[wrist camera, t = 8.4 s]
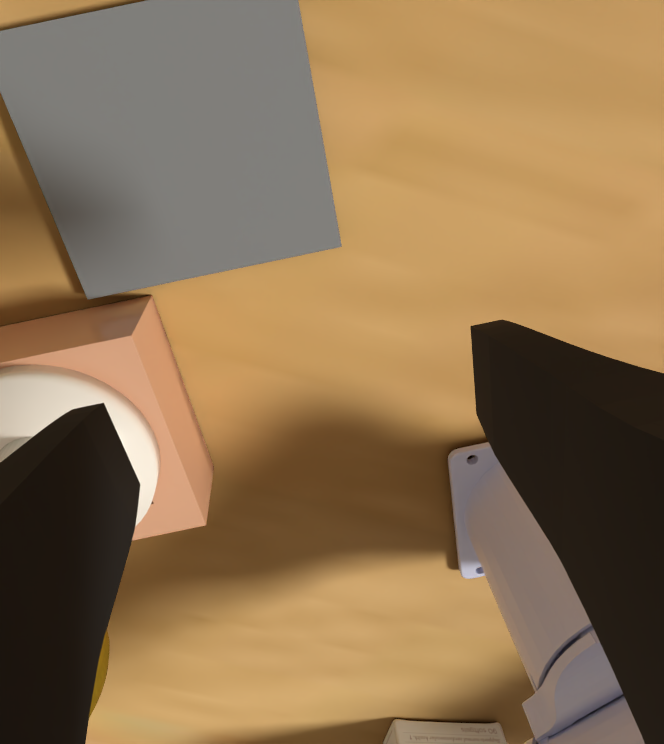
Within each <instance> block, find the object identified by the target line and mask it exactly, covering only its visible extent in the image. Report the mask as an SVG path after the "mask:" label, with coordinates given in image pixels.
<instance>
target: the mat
mask: <svg viewBox="0 0 664 744" xmlns="http://www.w3.org/2000/svg"><path fill="white" fill-rule="evenodd" d="M0 93H1V95H2V97H3V100H4V102H5V105H6V107H7V109H8V112H9V114H10V116H11V119H12V121H13V124H14V126H15V128H16V131H17V133H18V135H19V138H20V140H21V142H22V145H23V147H24V150H25V152H26V154H27V157H28V159H29V161H30V164H31V166H32V169H33V171H34V173H35V176H36V178H37V180H38V183H39V185H40V188H41V190H42V192H43V195H44V197H45V199H46V202H47V204H48V207H49V209H50V211H51V214H52V216H53V218H54V221H55V223H56V226H57V228H58V230H59V233H60V235H61V237H62V240H63V242H64V245H65V247H66V249H67V252H68V254H69V256H70V259H71V261H72V264H73V266H74V268H75V271H76V273H77V275H78V278H79V280H80V283H81V285H82V287H83V290H84V292H85V294H86V297H87V299H93V298H98V297H103V296H108V295H112V294H117V293H122V292H127V291H132V290H136V289H141V288H146V287H151V286H156V285H160V284H165V283H170V282H175V281H180V280H184V279H189V278H194V277H199V276H204V275H208V274H213V273H218V272H223V271H228V270H232V269H237V268H242V267H247V266H252V265H256V264H261V263H266V262H271V261H276V260H280V259H285V258H290V257H295V256H300V255H304V254H309V253H314V252H319V251H324V250H328V249H333V248H338V247H342V246H341V240H340V234H339V229H338V223H337V217H336V212H335V206H334V200H333V195H332V189H331V183H330V178H329V172H328V166H327V161H326V155H325V149H324V144H323V138H322V132H321V127H320V121H319V115H318V110H317V104H316V98H315V93H314V87H313V81H312V76H311V70H310V65H309V59H308V53H307V48H306V42H305V36H304V31H303V25H302V19H301V14H300V8H299V2H298V0H147V1H142V2H137V3H132V4H127V5H123V6H118V7H113V8H108V9H103V10H99V11H94V12H89V13H84V14H79V15H75V16H70V17H65V18H60V19H55V20H51V21H46V22H41V23H36V24H31V25H27V26H22V27H17V28H12V29H7V30H3V31H0Z"/></svg>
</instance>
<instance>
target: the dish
mask: <svg viewBox="0 0 664 744" xmlns="http://www.w3.org/2000/svg"><path fill="white" fill-rule="evenodd" d="M30 364H34V365H50V366H57V367H63V368H67V369H71V370H75V371H79V372H81V373H84V374H87V375H90V376H92V377H94V378H96V379H98V380H100V381H103V382H105V383H107V384H108V385H110V386H111V387H113V388H114V389H116V390H118V391H119V392H120V393H122V394H123V395H124V396H125V397H127V398H128V399H129V400H130V401H131V402H132V403H133V404H134V405H135V406H136V407H137V408H138V409H139V410H140V411H141V413H142V414H143V415H144V417H145V418H146V419H147V421H148V422H149V424H150V426H151V428H152V429H153V431H154V434H155V436H156V439H157V441H158V445H159V450H160V460H161V465H160V474H159V478H158V482H157V485H156V489H155V493H154V496H153V500H152V503H151V505H150V507H149V509H148V511H147V513H146V514H145V516H144V517H143V519H142V520H141V521H140V522H139V523H138V524H137V525H136V526H135V530H134V534H133V538H132V541H133V540H138V539H142V538H147V537H152V536H157V535H162V534H166V533H171V532H176V531H181V530H186V529H190V528H195V527H200V526H205V525H206V523H207V516H208V508H209V501H210V493H211V486H212V478H213V471H214V466H213V463H212V460H211V458H210V455H209V452H208V449H207V446H206V444H205V441H204V438H203V435H202V433H201V430H200V427H199V424H198V421H197V419H196V416H195V413H194V410H193V408H192V405H191V402H190V399H189V396H188V394H187V391H186V388H185V385H184V383H183V380H182V377H181V374H180V371H179V369H178V366H177V363H176V360H175V358H174V355H173V352H172V349H171V346H170V344H169V341H168V338H167V335H166V332H165V330H164V327H163V324H162V321H161V319H160V316H159V313H158V310H157V307H156V305H155V302H154V299H153V296H152V295H150V296H145V297H140V298H135V299H131V300H126V301H121V302H116V303H111V304H107V305H102V306H97V307H92V308H87V309H83V310H78V311H73V312H68V313H63V314H59V315H54V316H49V317H44V318H40V319H35V320H30V321H25V322H20V323H16V324H11V325H6V326H1V327H0V369H1V368H5V367H11V366H16V365H30Z"/></svg>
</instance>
